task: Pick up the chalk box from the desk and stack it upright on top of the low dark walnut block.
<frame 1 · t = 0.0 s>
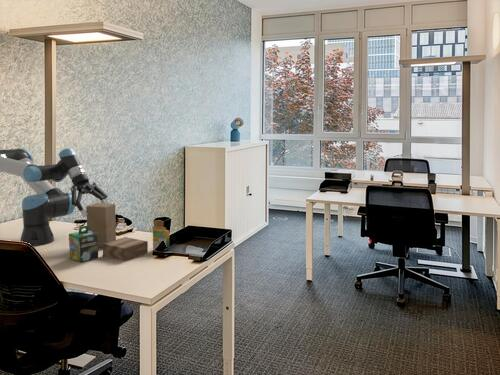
hand: (97, 213, 223), 15 cm above the table, tool tilted 35°, fingers open, 13 cm apart
crayon box: (161, 250, 216), on the table
wooden block: (102, 245, 223), on the table, touching gripper
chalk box: (84, 258, 202), on the table
walnut block: (125, 255, 209), on the table
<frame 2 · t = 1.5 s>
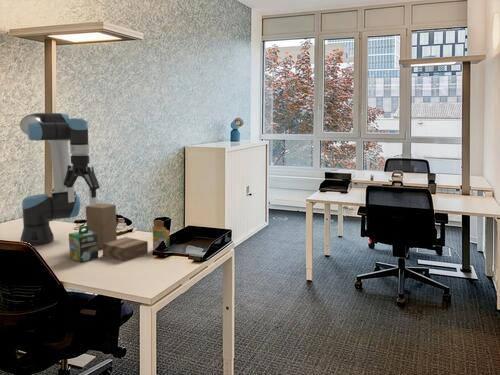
hand: (82, 203, 199), 25 cm above the table, tool pointing down, fingers open, 13 cm apart
wooden block: (102, 246, 223), on the table
everything else where it was.
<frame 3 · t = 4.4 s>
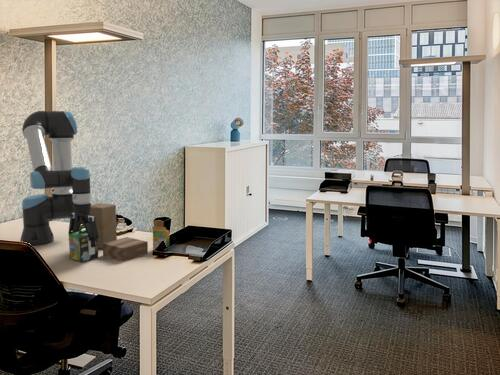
hand: (84, 252, 202), 3 cm above the table, tool pointing down, fingers closed on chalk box, 9 cm apart
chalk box: (84, 258, 202), on the table, touching gripper
everything else where it was.
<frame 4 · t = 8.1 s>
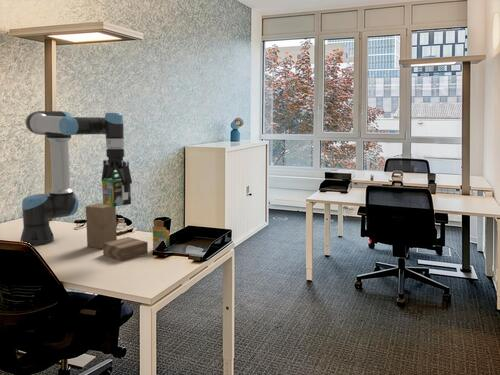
hand: (117, 198, 203), 26 cm above the table, tool pointing down, fingers closed on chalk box, 9 cm apart
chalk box: (117, 204, 204), point 23 cm above the table, touching gripper
everything else where it was.
when the fingers open (10 cm above the table, at t = 12.3 s): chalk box drops 2 cm, resting on walnut block.
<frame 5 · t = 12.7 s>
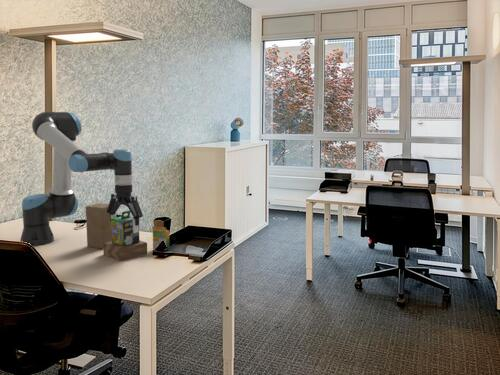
hand: (124, 230, 207), 11 cm above the table, tool pointing down, fingers open, 13 cm apart
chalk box: (125, 243, 208), point 5 cm above the table, touching walnut block
walnut block: (125, 255, 209), on the table, touching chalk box
everything else where it was.
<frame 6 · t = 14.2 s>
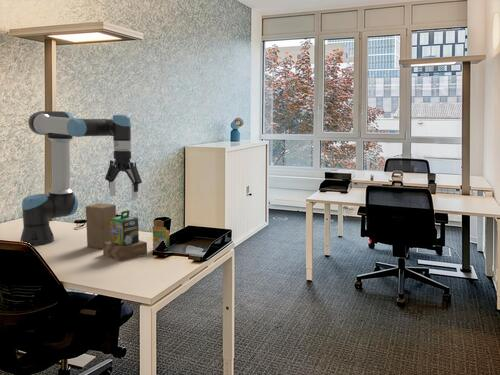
hand: (123, 197, 205), 26 cm above the table, tool pointing down, fingers open, 13 cm apart
nothing on the table moved.
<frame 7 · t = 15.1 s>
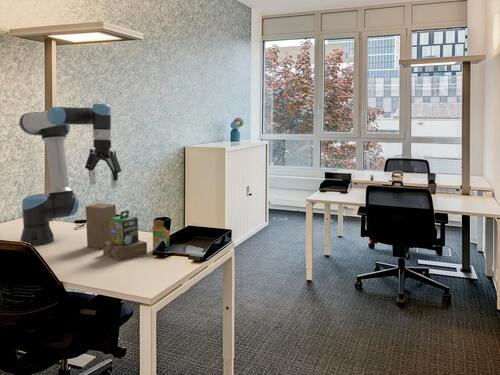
hand: (103, 186, 206), 31 cm above the table, tool pointing down, fingers open, 13 cm apart
nothing on the table moved.
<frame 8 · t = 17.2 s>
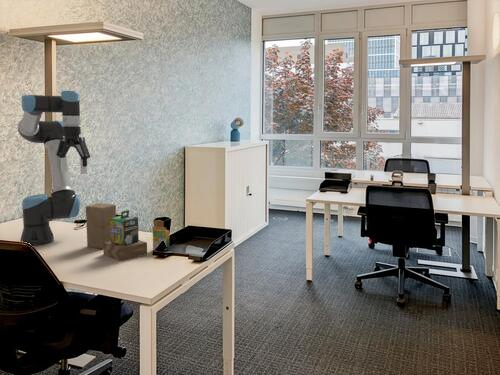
hand: (73, 172, 208), 37 cm above the table, tool pointing down, fingers open, 13 cm apart
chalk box: (124, 242, 208), point 5 cm above the table
walnut block: (125, 255, 209), on the table
everything else where it was.
at the end: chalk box inside the target area on the walnut block (0.3 cm from its centre), point 5.9 cm above the walnut block's base; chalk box tilted 0°; the gripper is holding nothing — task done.
